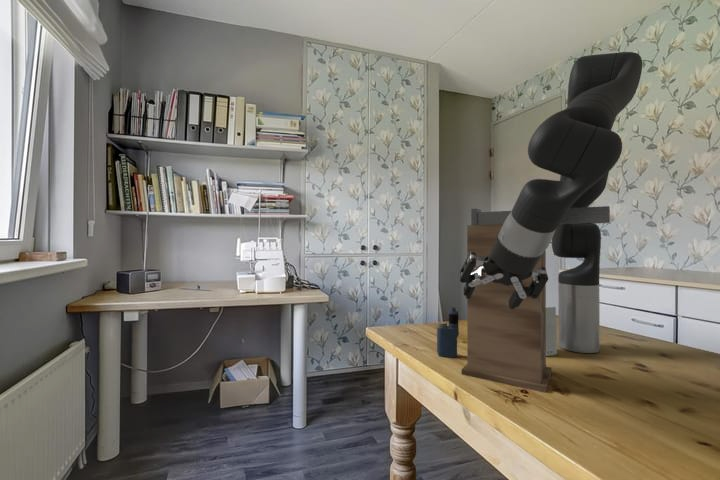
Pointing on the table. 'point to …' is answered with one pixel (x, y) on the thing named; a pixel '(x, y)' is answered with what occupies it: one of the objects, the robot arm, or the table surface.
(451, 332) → the vaping device
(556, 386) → the table surface
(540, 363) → the stand
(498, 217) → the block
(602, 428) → the table surface
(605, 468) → the table surface
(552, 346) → the skincare box
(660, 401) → the table surface
